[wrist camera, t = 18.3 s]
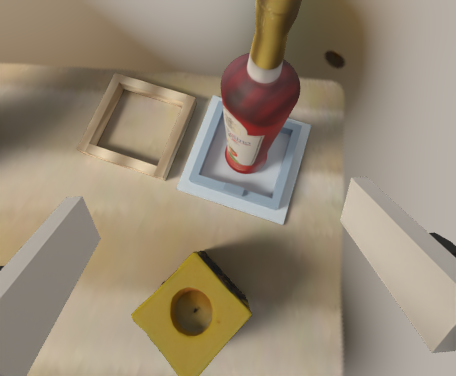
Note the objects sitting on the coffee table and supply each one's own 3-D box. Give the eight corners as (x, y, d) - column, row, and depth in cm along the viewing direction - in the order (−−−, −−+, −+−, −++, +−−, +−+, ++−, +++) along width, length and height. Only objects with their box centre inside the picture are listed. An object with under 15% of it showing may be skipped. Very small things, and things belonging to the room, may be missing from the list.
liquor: (214, 154, 41) (189, -24, 14) (246, 128, 42) (283, -87, 15) (244, 186, 40) (281, 62, 12) (276, 158, 41) (376, -14, 13)
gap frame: (83, 153, 42) (76, 148, 40) (119, 80, 45) (114, 72, 43) (165, 180, 41) (162, 177, 39) (196, 103, 44) (195, 97, 42)
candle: (199, 351, 35) (187, 393, 25) (152, 297, 37) (125, 317, 27) (248, 298, 37) (256, 317, 27) (202, 248, 38) (193, 250, 29)
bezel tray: (176, 189, 40) (172, 185, 37) (213, 97, 44) (212, 85, 41) (282, 225, 39) (287, 223, 36) (310, 126, 43) (317, 116, 39)
